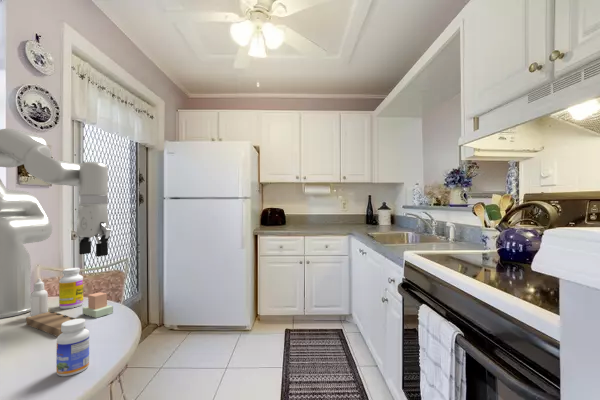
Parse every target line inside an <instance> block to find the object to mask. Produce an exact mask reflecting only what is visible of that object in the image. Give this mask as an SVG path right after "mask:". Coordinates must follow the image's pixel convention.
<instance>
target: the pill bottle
mask: <svg viewBox="0 0 600 400" xmlns="http://www.w3.org/2000/svg"><path fill="white" fill-rule="evenodd" d="M86 325H87V323H86V318H76V319H73V320H69V321H66V322H64V323H62V325H61V332H63V333H62V334H60V335H59V336H56V364H55V366H56V369H55V370H56V375H57V376H59V377H70V376H73V375H76V374H78V373H81V372H84V371H85V370H86V369H87V368H88V367H90V330H88V329H87V328H86ZM84 328H85V329H84Z"/></svg>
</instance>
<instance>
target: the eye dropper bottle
mask: <svg viewBox="0 0 600 400" xmlns="http://www.w3.org/2000/svg"><path fill="white" fill-rule="evenodd" d="M46 312H49V294H48V291H47V290H46V289H45V281H44V282H43V281H42V279H41V278H40V277H39V278H37V280H36V282H35V283H33V291H32V292H31V311H30V317H31V316H35V315H39V314H42V313H46Z"/></svg>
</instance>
